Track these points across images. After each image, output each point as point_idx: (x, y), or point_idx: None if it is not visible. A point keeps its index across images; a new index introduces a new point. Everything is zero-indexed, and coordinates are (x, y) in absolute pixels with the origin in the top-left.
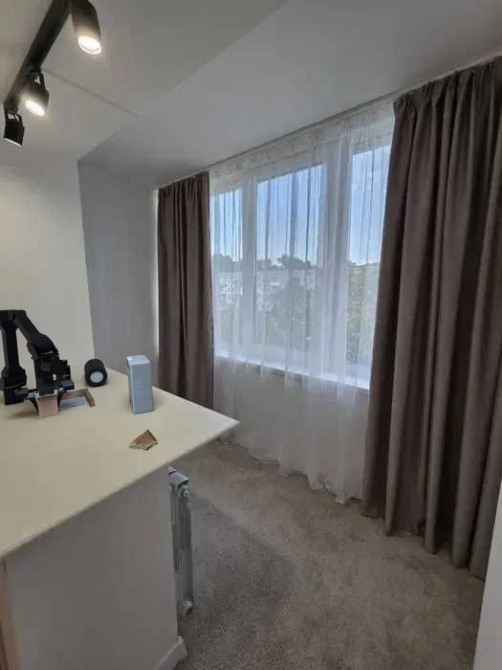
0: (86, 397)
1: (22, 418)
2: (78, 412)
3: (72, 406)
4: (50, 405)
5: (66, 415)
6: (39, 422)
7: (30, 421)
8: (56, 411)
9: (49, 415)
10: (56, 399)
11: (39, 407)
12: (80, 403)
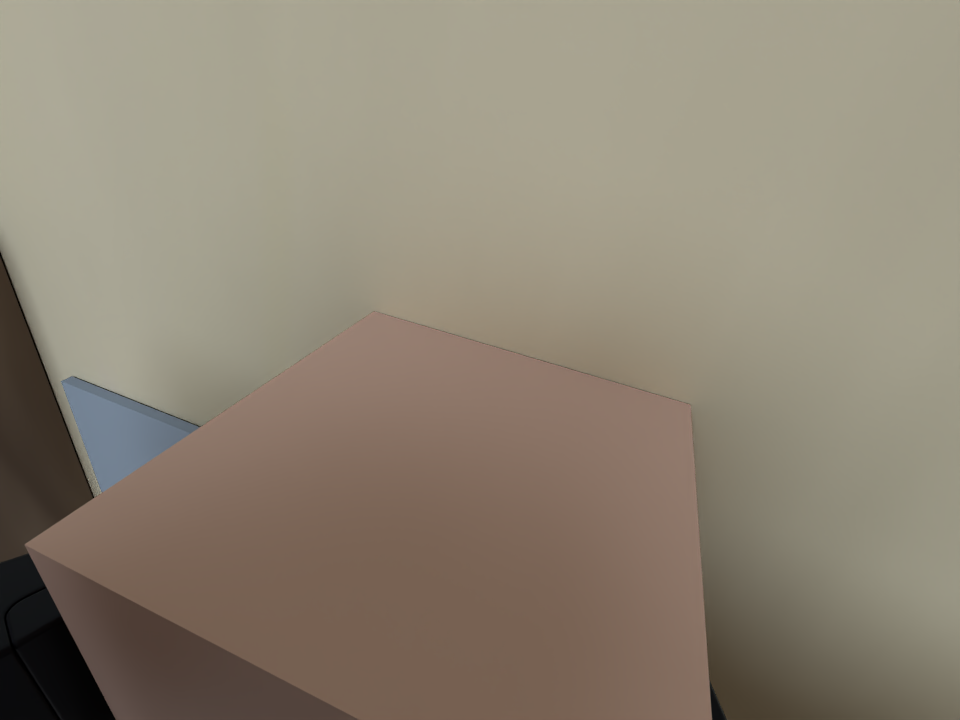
0: (48, 505)
1: (916, 652)
2: (87, 85)
3: (192, 429)
4: (359, 482)
5: (258, 92)
6: (851, 92)
7: (943, 376)
8: (365, 345)
9: (510, 355)
10: (43, 542)
11: (669, 611)
12: (113, 432)
